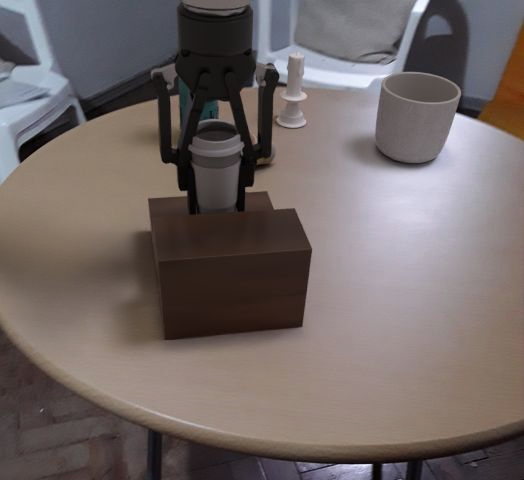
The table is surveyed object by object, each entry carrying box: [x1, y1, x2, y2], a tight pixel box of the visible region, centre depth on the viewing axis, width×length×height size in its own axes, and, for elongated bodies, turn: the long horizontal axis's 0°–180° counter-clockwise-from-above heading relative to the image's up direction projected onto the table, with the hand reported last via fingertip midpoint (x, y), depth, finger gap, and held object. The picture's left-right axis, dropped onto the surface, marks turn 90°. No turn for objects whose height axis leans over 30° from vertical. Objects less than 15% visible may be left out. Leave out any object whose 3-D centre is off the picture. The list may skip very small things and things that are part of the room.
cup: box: [188, 118, 244, 215], centre depth 74 cm, size 7×7×12 cm
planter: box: [374, 71, 462, 164], centre depth 102 cm, size 12×12×11 cm
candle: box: [275, 50, 308, 129], centre depth 108 cm, size 5×5×12 cm
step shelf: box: [147, 190, 313, 341], centre depth 76 cm, size 22×16×11 cm
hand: (216, 210), depth 77 cm, fingers closed on cup, 5 cm apart
